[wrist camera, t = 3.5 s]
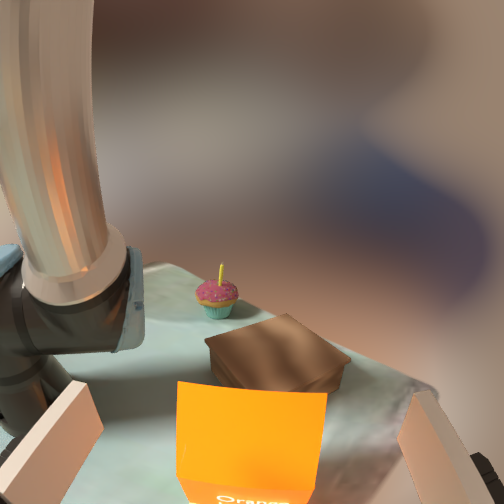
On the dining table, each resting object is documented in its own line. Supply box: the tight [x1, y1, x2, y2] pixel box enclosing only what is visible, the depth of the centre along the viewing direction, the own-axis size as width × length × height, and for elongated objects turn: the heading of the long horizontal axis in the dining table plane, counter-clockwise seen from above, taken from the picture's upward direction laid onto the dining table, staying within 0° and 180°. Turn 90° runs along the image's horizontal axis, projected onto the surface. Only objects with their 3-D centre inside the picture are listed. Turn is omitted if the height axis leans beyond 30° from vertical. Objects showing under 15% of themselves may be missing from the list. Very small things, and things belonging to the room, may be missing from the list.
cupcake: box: [195, 262, 238, 319], centre depth 61 cm, size 9×8×12 cm
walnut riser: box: [204, 313, 351, 395], centre depth 43 cm, size 15×15×6 cm
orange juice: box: [176, 381, 327, 504], centre depth 20 cm, size 8×9×20 cm
